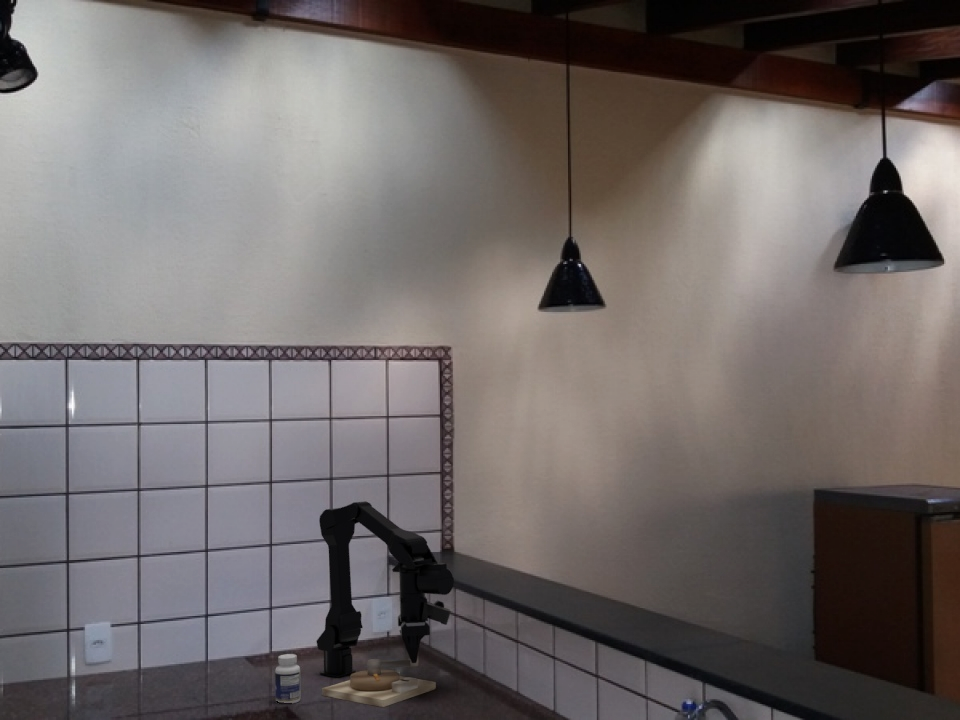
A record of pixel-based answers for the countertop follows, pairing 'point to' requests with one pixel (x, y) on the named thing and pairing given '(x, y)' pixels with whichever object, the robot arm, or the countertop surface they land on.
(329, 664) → the robot arm
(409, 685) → the stand
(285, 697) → the pill bottle
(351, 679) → the crank handle
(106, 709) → the countertop surface
